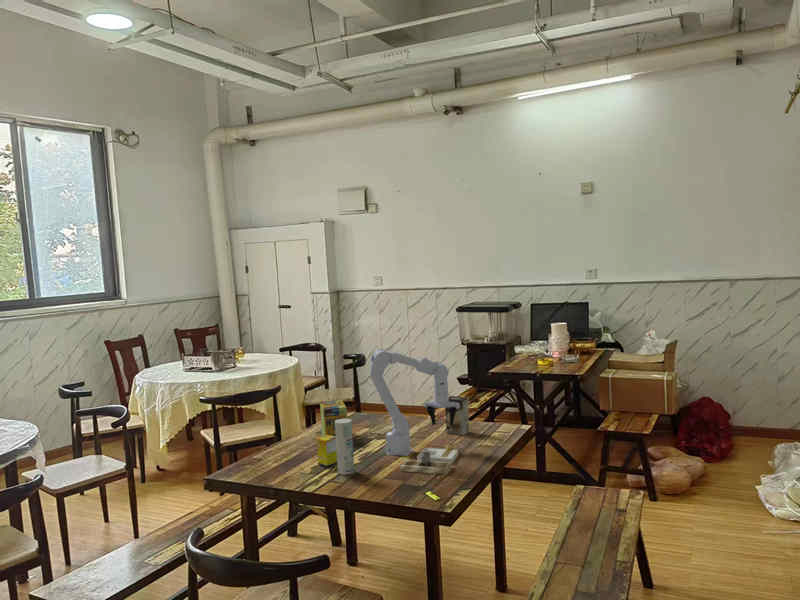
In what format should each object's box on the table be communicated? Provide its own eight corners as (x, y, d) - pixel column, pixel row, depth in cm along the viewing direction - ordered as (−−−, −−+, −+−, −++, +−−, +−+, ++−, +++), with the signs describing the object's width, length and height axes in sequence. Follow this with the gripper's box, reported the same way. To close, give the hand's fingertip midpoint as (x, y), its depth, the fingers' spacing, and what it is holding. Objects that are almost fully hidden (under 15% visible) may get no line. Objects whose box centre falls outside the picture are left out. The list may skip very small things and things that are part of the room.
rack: (400, 472, 233) (400, 465, 233) (406, 465, 240) (406, 459, 239) (446, 475, 227) (446, 468, 227) (451, 468, 234) (451, 462, 234)
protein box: (325, 443, 275) (323, 409, 273) (321, 434, 290) (319, 401, 288) (348, 440, 277) (346, 406, 276) (343, 431, 292) (341, 399, 291)
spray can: (348, 475, 232) (345, 423, 231) (334, 473, 236) (331, 422, 234) (358, 470, 238) (354, 419, 237) (344, 468, 241) (341, 417, 240)
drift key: (439, 461, 241) (439, 452, 241) (447, 452, 252) (446, 443, 252) (448, 462, 240) (448, 452, 240) (455, 453, 251) (455, 444, 250)
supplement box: (329, 460, 251) (327, 434, 250) (338, 463, 247) (337, 436, 246) (317, 464, 247) (316, 437, 246) (327, 467, 243) (325, 440, 242)
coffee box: (445, 433, 280) (443, 398, 279) (452, 429, 286) (450, 395, 284) (463, 435, 275) (462, 400, 274) (469, 431, 281) (468, 397, 280)
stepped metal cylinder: (421, 470, 233) (420, 450, 232) (423, 467, 236) (422, 448, 235) (429, 470, 232) (428, 450, 231) (431, 467, 235) (430, 448, 234)
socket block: (417, 463, 242) (416, 456, 242) (425, 454, 253) (424, 448, 253) (451, 465, 238) (451, 458, 238) (458, 455, 248) (458, 449, 248)
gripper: (421, 394, 255) (423, 426, 256) (455, 395, 250) (457, 428, 251) (426, 390, 261) (428, 421, 262) (460, 391, 257) (461, 423, 258)
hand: (442, 424), depth 257 cm, fingers open, 7 cm apart
